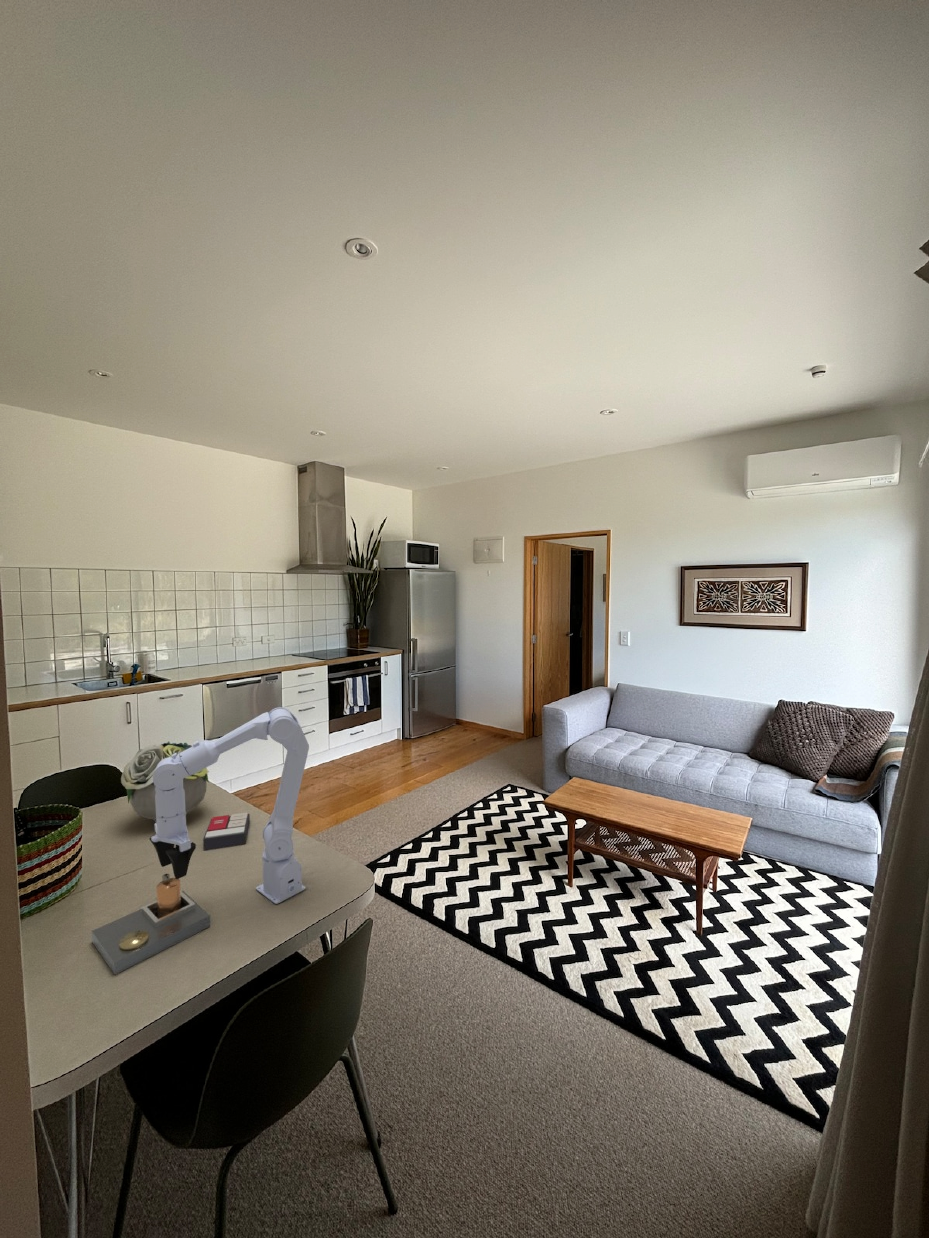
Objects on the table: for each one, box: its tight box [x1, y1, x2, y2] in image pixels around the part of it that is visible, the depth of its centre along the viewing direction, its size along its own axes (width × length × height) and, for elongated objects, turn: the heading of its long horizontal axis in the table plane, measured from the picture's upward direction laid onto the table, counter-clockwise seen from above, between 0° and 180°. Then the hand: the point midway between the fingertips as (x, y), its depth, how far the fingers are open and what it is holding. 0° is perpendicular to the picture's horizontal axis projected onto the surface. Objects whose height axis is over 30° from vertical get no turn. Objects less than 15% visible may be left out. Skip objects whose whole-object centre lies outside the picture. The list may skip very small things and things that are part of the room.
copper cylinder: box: [156, 873, 182, 919], centre depth 113 cm, size 4×4×10 cm
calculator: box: [202, 812, 251, 852], centre depth 152 cm, size 11×4×15 cm
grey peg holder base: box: [91, 889, 211, 976], centre depth 109 cm, size 14×18×4 cm
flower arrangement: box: [120, 741, 210, 823], centre depth 161 cm, size 25×25×24 cm
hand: (173, 870), depth 115 cm, fingers open, 7 cm apart
